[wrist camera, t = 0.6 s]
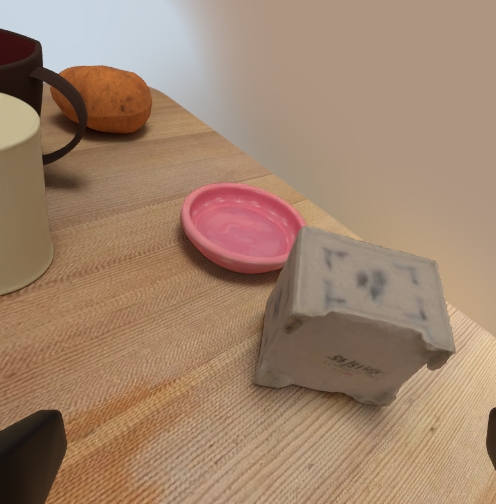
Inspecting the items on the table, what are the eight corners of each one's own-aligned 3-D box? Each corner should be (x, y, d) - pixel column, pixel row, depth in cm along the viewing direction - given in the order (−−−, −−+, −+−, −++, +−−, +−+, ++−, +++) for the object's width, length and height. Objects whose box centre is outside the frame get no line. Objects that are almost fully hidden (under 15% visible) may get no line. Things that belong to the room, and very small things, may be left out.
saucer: (250, 196, 47) (256, 173, 45) (324, 263, 41) (336, 240, 39) (153, 219, 40) (156, 193, 38) (226, 305, 34) (234, 279, 32)
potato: (131, 154, 48) (134, 91, 44) (38, 128, 48) (31, 62, 43) (155, 125, 56) (160, 69, 51) (75, 102, 55) (73, 43, 50)
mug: (-35, 139, 43) (-64, 13, 35) (100, 165, 45) (100, 51, 38) (-94, 189, 35) (-147, 41, 28) (72, 217, 37) (65, 88, 30)
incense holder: (249, 400, 28) (294, 297, 21) (261, 311, 34) (299, 211, 28) (386, 434, 28) (472, 343, 22) (373, 339, 35) (436, 247, 28)
